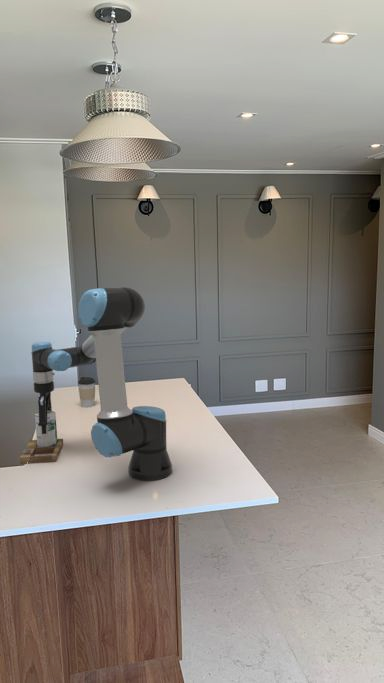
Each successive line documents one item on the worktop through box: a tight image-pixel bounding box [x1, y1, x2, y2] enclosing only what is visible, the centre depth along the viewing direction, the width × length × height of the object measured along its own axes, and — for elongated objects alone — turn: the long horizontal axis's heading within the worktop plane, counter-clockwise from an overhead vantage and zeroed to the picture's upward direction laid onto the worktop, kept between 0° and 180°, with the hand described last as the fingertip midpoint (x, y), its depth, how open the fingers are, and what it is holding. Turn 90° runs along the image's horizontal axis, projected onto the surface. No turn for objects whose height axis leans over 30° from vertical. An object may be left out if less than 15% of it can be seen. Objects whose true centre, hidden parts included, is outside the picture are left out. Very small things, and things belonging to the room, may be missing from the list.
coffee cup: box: [77, 376, 96, 408], centre depth 258 cm, size 9×9×15 cm
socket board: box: [19, 438, 64, 465], centre depth 191 cm, size 19×13×3 cm
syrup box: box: [34, 410, 58, 447], centre depth 194 cm, size 6×6×14 cm
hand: (46, 437), depth 195 cm, fingers closed on syrup box, 8 cm apart
